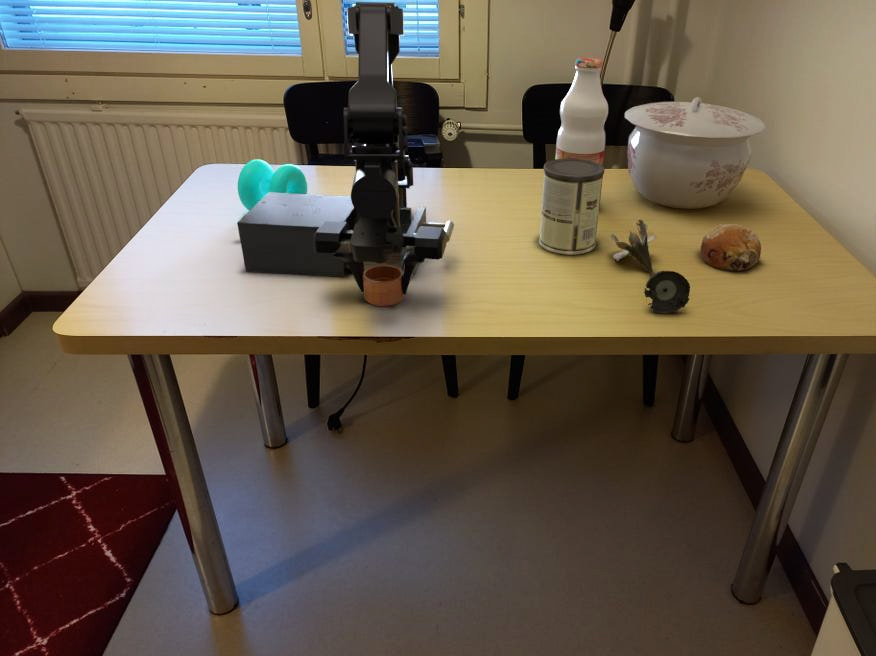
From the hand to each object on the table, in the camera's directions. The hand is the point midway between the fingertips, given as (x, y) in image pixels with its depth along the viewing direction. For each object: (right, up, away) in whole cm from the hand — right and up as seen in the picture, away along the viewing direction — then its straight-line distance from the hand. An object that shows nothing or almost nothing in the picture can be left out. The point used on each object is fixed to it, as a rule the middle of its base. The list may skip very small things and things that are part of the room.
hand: (383, 292), depth 104 cm
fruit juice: (+34, +21, +36) cm, 54 cm away
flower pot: (0, -1, +1) cm, 1 cm away
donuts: (-25, +18, +29) cm, 42 cm away
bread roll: (+58, +7, +15) cm, 60 cm away
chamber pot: (+57, +24, +42) cm, 75 cm away
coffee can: (+30, +11, +20) cm, 38 cm away
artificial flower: (+41, +2, +8) cm, 42 cm away
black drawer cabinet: (-15, +7, +13) cm, 21 cm away
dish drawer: (0, +7, +12) cm, 14 cm away
